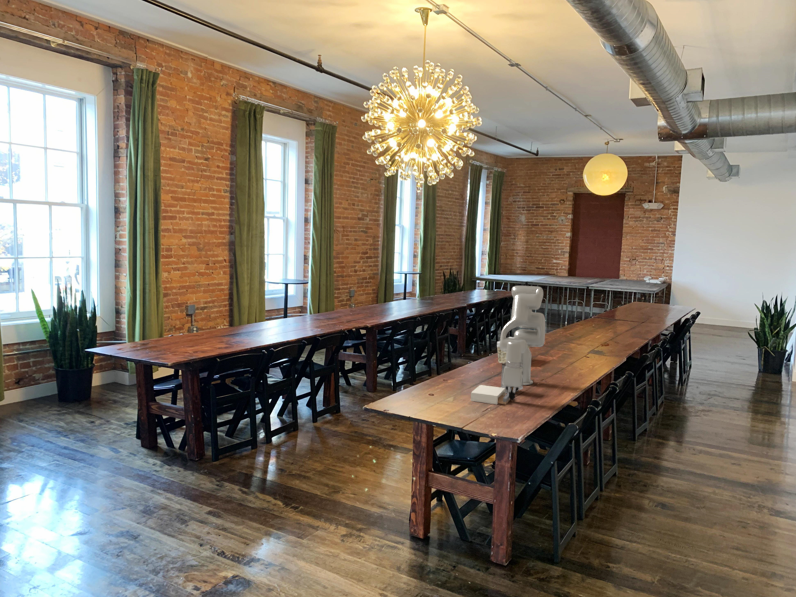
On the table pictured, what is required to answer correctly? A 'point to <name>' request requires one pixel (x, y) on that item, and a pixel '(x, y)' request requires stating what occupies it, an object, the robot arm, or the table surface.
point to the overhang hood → (487, 394)
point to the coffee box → (502, 378)
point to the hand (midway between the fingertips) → (511, 399)
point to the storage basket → (502, 353)
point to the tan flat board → (504, 399)
